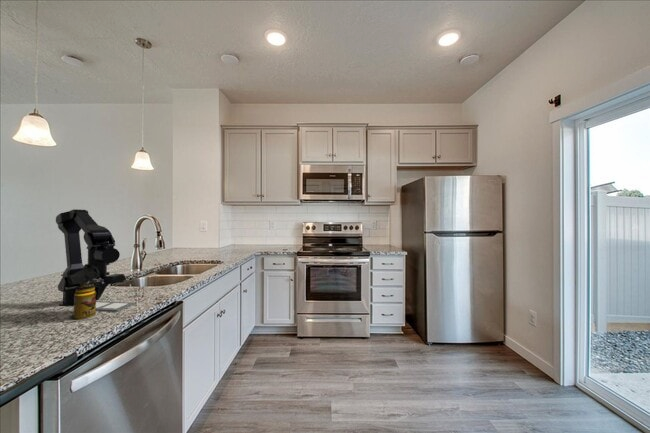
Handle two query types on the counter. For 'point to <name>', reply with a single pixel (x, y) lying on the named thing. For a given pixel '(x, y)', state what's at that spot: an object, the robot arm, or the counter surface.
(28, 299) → the counter surface
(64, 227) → the robot arm
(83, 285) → the condiment
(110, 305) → the mat
